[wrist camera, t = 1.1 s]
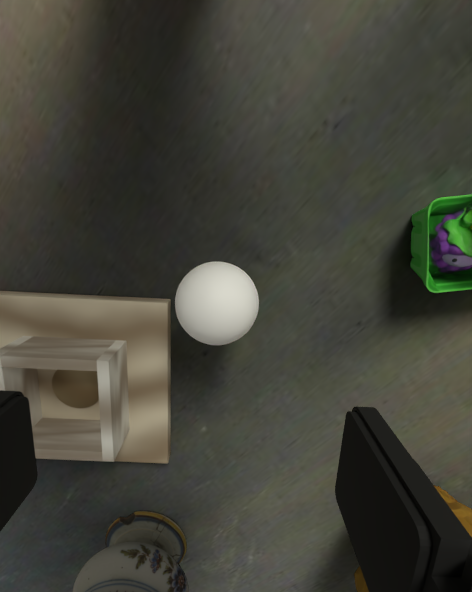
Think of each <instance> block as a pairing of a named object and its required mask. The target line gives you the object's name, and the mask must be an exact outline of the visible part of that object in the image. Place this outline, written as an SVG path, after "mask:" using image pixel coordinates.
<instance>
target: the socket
mask: <svg viewBox="0 0 472 592" xmlns="http://www.w3.org/2000/svg"><path fill="white" fill-rule="evenodd" d="M1 390H3V391H20V392H22V393H23V395H24V397H27V398H28V400H29V405H30V414H31V423H32V431H33V440H34V449H35V457H36V458H38V459H61V460H85V461H108V462H114V461H122V462H145V463H168V461H169V458H170V454H171V299H159V298H139V297H118V296H97V295H77V294H56V293H35V292H15V291H0V391H1Z"/></svg>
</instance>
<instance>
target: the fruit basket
mask: <svg viewBox="0 0 472 592" xmlns="http://www.w3.org/2000/svg"><path fill="white" fill-rule="evenodd" d="M412 223H413V226H414V227H413V229H412V232H411V253H412V256H413V258H412V260H411V264H410V266H411V268H412V269H413V270H414V271H415V272H416V274H417V275H418V276H419V277H420V278H421V279H422V280H423V283H424V285H425V286H426V288H427V289H428V290H429V291H430V292H433V293H442V292H451V291H461V290H470V289H472V195H463V196H452V197H442V198H438V199H436V200H434V201H433V202H431V203H430V204H429V205H428V206H427V207H426V208H424V209H422V210H420V211H418V212H417V213H415V214H413V215H412Z"/></svg>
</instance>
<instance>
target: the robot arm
mask: <svg viewBox="0 0 472 592" xmlns="http://www.w3.org/2000/svg"><path fill="white" fill-rule="evenodd" d="M36 480H37V466H36V457H35V449H34V440H33V431H32V423H31V414H30V405H29V400H28V398H27V397H24V395H23V393H22V392H20V391H3V390H1V391H0V531H1V530H2V529H3V527H4V526H5V525H6V523H7V522H8V521H9V519H10V518H11V517H12V515H13V514H14V513H15V511H16V510H17V509H18V507H19V506H20V505H21V503H22V502H23V501H24V499H25V498H26V497H27V495H28V494H29V493H30V491H31V490H32V489H33V487H34V485H35V483H36ZM335 493H336V500H337V503H338V506H339V509H340V511H341V514H342V517H343V520H344V523H345V525H346V528H347V531H348V534H349V537H350V540H351V542H352V545H353V548H354V551H355V554H356V557H357V559H358V562H359V565H360V568H361V571H362V573H363V576H364V579H365V582H366V585H367V588H368V590H369V592H472V537H471V536H470V534H469V533H468V532H467V530H466V529H465V528H464V526H463V525H462V523H461V522H460V521H459V519H458V518H457V517H456V515H455V514H454V513H453V511H452V510H451V509H450V507H449V506H448V504H447V503H446V502H445V500H444V499H443V498H442V496H441V495H440V494H439V492H438V491H437V489H436V488H435V487H434V485H433V484H432V483H431V481H430V480H429V479H428V477H427V476H426V475H425V473H424V472H423V470H422V469H421V468H420V466H419V465H418V464H417V463H416V462H415V460H414V459H412V457H411V456H410V454H409V453H408V452H407V450H406V449H405V448H404V446H403V445H402V444H401V442H400V441H399V439H398V438H397V437H396V435H395V434H394V433H393V431H392V430H391V428H390V427H389V426H388V424H387V423H386V422H385V420H384V419H383V418H382V416H381V415H380V413H379V412H378V411H377V409H375V408H373V407H354V408H353V410H352V412H350V411H348V412H347V414H346V419H345V425H344V432H343V439H342V445H341V452H340V459H339V466H338V472H337V479H336V486H335Z"/></svg>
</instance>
